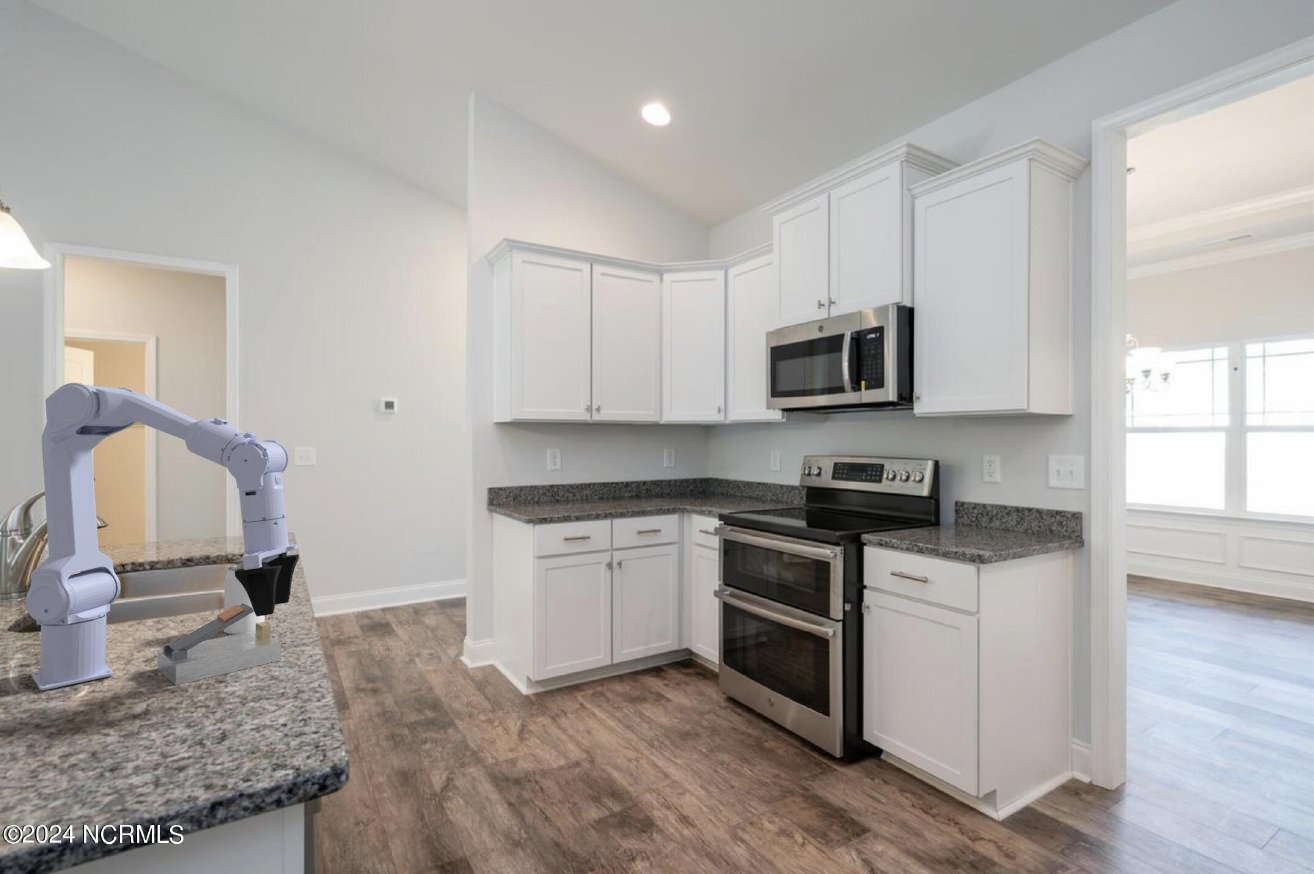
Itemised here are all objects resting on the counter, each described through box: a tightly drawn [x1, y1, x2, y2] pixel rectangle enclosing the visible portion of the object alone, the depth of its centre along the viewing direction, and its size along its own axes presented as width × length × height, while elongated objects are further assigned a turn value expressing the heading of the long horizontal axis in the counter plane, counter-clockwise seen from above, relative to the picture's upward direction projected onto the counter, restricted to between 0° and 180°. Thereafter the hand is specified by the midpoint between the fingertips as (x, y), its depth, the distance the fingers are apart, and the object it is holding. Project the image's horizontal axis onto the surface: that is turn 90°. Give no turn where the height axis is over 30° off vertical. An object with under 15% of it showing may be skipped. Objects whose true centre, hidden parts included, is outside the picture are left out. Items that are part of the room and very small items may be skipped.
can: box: [223, 564, 266, 635], centre depth 118 cm, size 6×6×12 cm
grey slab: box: [169, 604, 254, 651], centre depth 99 cm, size 4×11×1 cm, turn 141°
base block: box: [156, 621, 282, 686], centre depth 100 cm, size 10×14×5 cm
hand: (273, 609), depth 95 cm, fingers open, 7 cm apart
